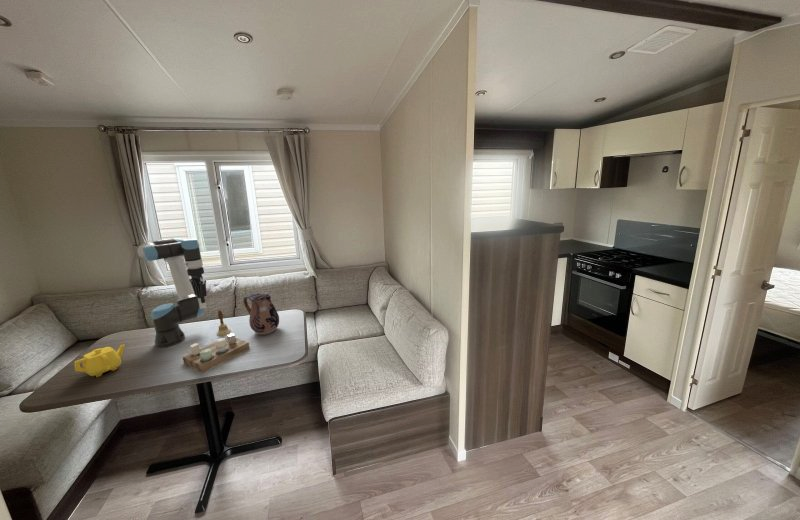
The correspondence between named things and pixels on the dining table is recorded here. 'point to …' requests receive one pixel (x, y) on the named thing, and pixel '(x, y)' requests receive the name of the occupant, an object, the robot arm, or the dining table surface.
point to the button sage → (206, 354)
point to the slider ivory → (195, 349)
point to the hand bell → (222, 326)
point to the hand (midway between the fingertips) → (203, 307)
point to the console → (215, 355)
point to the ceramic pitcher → (262, 313)
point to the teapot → (100, 361)
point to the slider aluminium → (231, 339)
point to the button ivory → (220, 343)
